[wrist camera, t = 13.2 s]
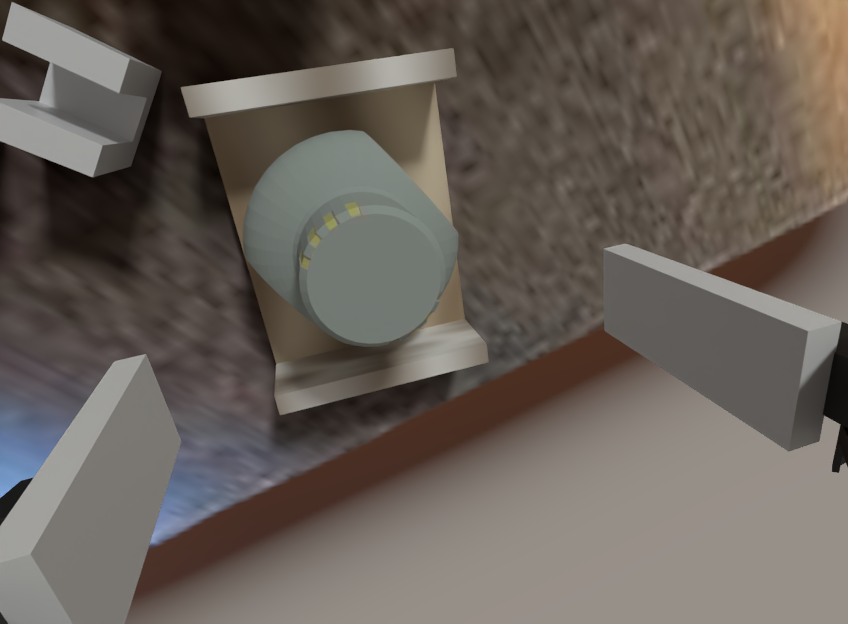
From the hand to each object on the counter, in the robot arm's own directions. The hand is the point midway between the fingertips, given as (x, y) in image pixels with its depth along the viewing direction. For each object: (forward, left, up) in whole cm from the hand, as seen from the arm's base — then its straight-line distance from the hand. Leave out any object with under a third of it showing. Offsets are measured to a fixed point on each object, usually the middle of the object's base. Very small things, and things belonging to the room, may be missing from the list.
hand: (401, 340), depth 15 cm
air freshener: (0, 0, -16) cm, 16 cm away
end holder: (0, 0, -17) cm, 17 cm away
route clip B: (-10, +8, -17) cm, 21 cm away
